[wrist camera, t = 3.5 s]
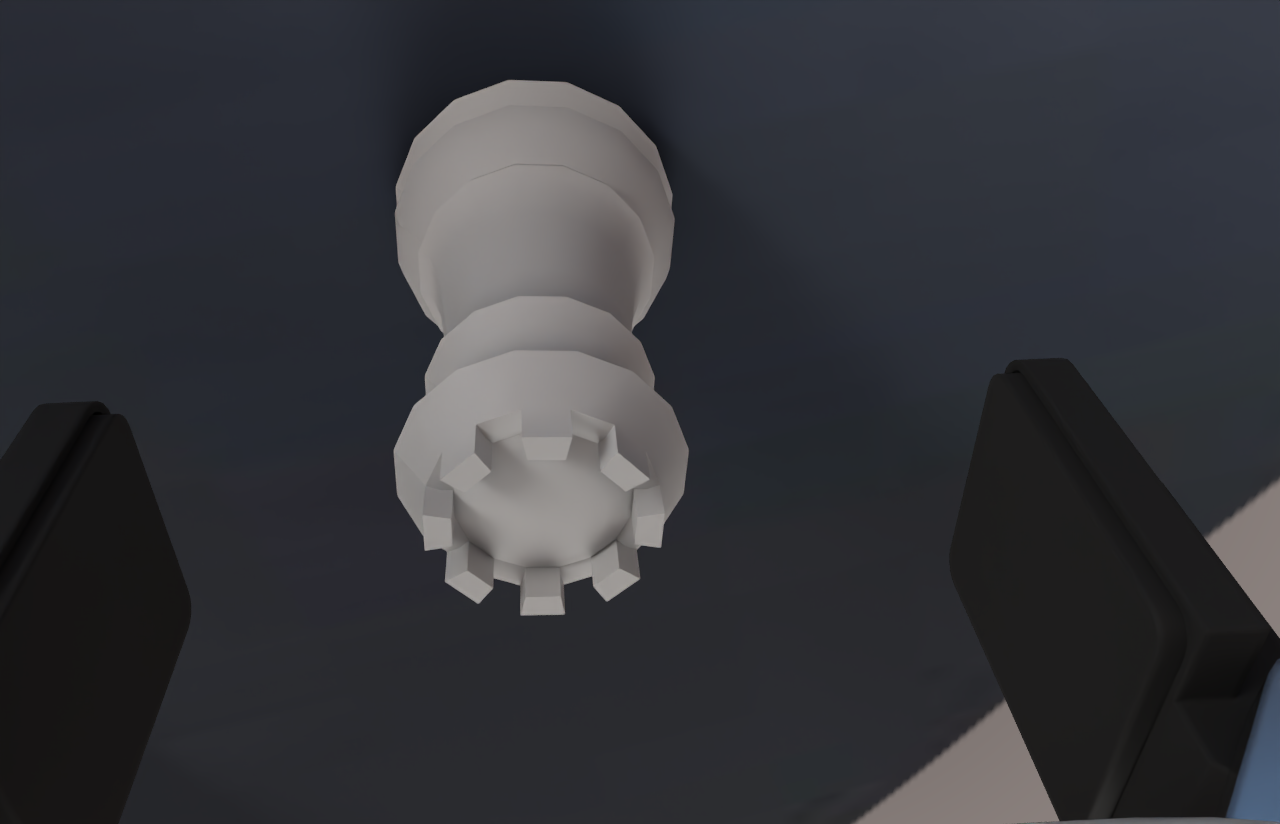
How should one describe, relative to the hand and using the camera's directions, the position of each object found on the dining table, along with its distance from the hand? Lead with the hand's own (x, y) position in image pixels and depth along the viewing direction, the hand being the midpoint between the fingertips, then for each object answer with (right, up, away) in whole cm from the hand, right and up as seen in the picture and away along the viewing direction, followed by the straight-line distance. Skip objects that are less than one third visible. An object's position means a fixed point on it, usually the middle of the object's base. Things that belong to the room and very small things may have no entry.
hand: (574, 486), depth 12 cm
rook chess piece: (-1, +4, +6) cm, 7 cm away
